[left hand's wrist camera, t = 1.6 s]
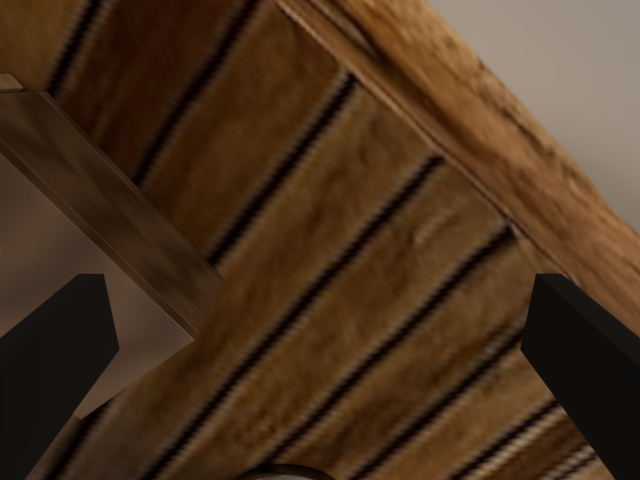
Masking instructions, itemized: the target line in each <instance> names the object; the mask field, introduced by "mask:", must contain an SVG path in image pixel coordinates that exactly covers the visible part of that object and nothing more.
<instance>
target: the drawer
mask: <svg viewBox="0 0 640 480" xmlns="http://www.w3.org/2000/svg"><path fill="white" fill-rule="evenodd" d="M22 89H23V87H22V85H21V84H20V83H19V82H18V81H17V80H16V79H15V78H14V77H13V76H12V75H11V74H0V93H16V92H20V91H21V90H22Z"/></svg>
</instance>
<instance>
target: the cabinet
mask: <svg viewBox="0 0 640 480" xmlns="http://www.w3.org/2000/svg"><path fill="white" fill-rule="evenodd" d="M78 274H104V277H105V282H106V286H107V291H108V296H109V301H110V305H111V310H112V315H113V320H114V324H115V329H116V334H117V339H118V343H119V348H120V350H119V351H118V353H117V354H116V355H115V357H114V358H113V359H112V361H111V362H110V364H109V365H108V366H107V368H106V369H105V370H104V372H103V373H102V375H101V376H100V377H99V379H98V380H97V381H96V383H95V384H94V385H93V387H92V388H91V390H90V391H89V392H88V394H87V395H86V396H85V398H84V399H83V400H82V402H81V403H80V405H79V406H78V407H77V409H76V410H75V411H74V413H73V414H74V415H75V416H77V417H78V418H79V419H82V418H83V417H85V416H86V415H88V414H89V413H91V412H92V411H93V410H95V409H96V408H98V407H99V406H101V405H102V404H103V403H105V402H106V401H108V400H109V399H111V398H112V397H114V396H115V395H116V394H118V393H119V392H121V391H122V390H124V389H125V388H126V387H128V386H129V385H131V384H132V383H134V382H135V381H137V380H138V379H139V378H141V377H142V376H144V375H145V374H147V373H148V372H149V371H151V370H152V369H154V368H155V367H157V366H158V365H160V364H161V363H162V362H164V361H165V360H167V359H168V358H170V357H171V356H172V355H174V354H175V353H177V352H178V351H180V350H181V349H183V348H184V347H185V346H187V345H188V344H190V343H191V342H193V341H194V340H195V338H196V336H197V334H198V331H199V329H200V327H201V325H202V323H203V321H204V319H205V317H206V315H207V312H208V310H209V308H210V306H211V304H212V302H213V300H214V298H215V296H216V294H217V292H218V289H219V287H220V285H221V283H222V281H223V278H222V277H221V275H220V274H219V273H218V272H217V271H216V270H215V269H214V268H213V267H212V266H211V265H210V264H209V263H208V262H207V261H206V260H205V259H204V257H203V256H202V255H201V254H200V253H199V252H198V251H197V250H196V249H195V248H194V247H193V246H192V245H191V244H190V243H189V242H188V241H187V239H186V238H185V237H184V236H183V235H182V234H181V233H180V232H179V231H178V230H177V229H176V228H175V227H174V226H173V225H172V224H171V223H170V221H169V220H168V219H167V218H166V217H165V216H164V215H163V214H162V213H161V212H160V211H159V210H158V209H157V208H156V207H155V206H154V205H153V203H152V202H151V201H150V200H149V199H148V198H147V197H146V196H145V195H144V194H143V193H142V192H141V191H140V190H139V189H138V188H137V187H136V185H135V184H134V183H133V182H132V181H131V180H130V179H129V178H128V177H127V176H126V175H125V174H124V173H123V172H122V171H121V170H120V169H119V167H118V166H117V165H116V164H115V163H114V162H113V161H112V160H111V159H110V158H109V157H108V156H107V155H106V154H105V153H104V152H103V151H102V149H101V148H100V147H99V146H98V145H97V144H96V143H95V142H94V141H93V140H92V139H91V138H90V137H89V136H88V135H87V134H86V133H85V131H84V130H83V129H82V128H81V127H80V126H79V125H78V124H77V123H76V122H75V121H74V120H73V119H72V118H71V117H70V116H69V115H68V113H67V112H66V111H65V110H64V109H63V108H62V107H61V106H60V105H59V104H58V103H57V102H56V101H55V100H54V99H53V98H52V97H51V95H50V94H49V93H48V92H47V91H32V92H16V93H0V338H1V337H2V336H3V335H4V334H6V333H7V332H8V331H9V330H11V329H12V328H13V327H14V326H15V325H17V324H18V323H19V322H20V321H22V320H23V319H24V318H25V317H26V316H28V315H29V314H30V313H31V312H33V311H34V310H35V309H36V308H37V307H39V306H40V305H41V304H42V303H43V302H45V301H46V300H47V299H48V298H50V297H51V296H52V295H53V294H54V293H56V292H57V291H58V290H59V289H61V288H62V287H63V286H64V285H65V284H67V283H68V282H69V281H70V280H72V279H73V278H74V277H75V276H76V275H78Z"/></svg>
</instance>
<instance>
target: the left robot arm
mask: <svg viewBox="0 0 640 480" xmlns="http://www.w3.org/2000/svg"><path fill="white" fill-rule="evenodd" d="M119 350H120V348H119V343H118V339H117V334H116V329H115V324H114V320H113V315H112V310H111V305H110V301H109V296H108V291H107V286H106V282H105V277H104V274H78V275H76V276H75V277H74V278H73V279H72V280H70V281H69V282H68V283H67V284H65V285H64V286H63V287H62V288H61V289H59V290H58V291H57V292H56V293H54V294H53V295H52V296H51V297H50V298H48V299H47V300H46V301H45V302H43V303H42V304H41V305H40V306H39V307H37V308H36V309H35V310H34V311H33V312H31V313H30V314H29V315H28V316H26V317H25V318H24V319H23V320H22V321H20V322H19V323H18V324H17V325H15V326H14V327H13V328H12V329H11V330H9V331H8V332H7V333H6V334H4V335H3V336H2V337H1V338H0V480H25V478H26V477H27V476H28V474H29V473H30V472H31V470H32V469H33V467H34V466H35V465H36V463H37V462H38V461H39V459H40V458H41V456H42V455H43V454H44V452H45V451H46V450H47V448H48V447H49V446H50V444H51V443H52V441H53V440H54V439H55V437H56V436H57V435H58V433H59V432H60V431H61V429H62V428H63V426H64V425H65V424H66V422H67V421H68V420H69V418H70V417H71V415H72V414H73V413H74V411H75V410H76V409H77V407H78V406H79V405H80V403H81V402H82V400H83V399H84V398H85V396H86V395H87V394H88V392H89V391H90V390H91V388H92V387H93V385H94V384H95V383H96V381H97V380H98V379H99V377H100V376H101V375H102V373H103V372H104V370H105V369H106V368H107V366H108V365H109V364H110V362H111V361H112V359H113V358H114V357H115V355H116V354H117V353H118V351H119ZM520 350H521V351H522V353H523V354H524V355H525V357H526V358H527V359H528V361H529V362H530V364H531V365H532V366H533V368H534V369H535V370H536V372H537V373H538V375H539V376H540V377H541V379H542V380H543V381H544V383H545V384H546V385H547V387H548V388H549V390H550V391H551V392H552V394H553V395H554V396H555V398H556V399H557V400H558V402H559V403H560V405H561V406H562V407H563V409H564V410H565V411H566V413H567V414H568V416H569V417H570V418H571V420H572V421H573V422H574V424H575V425H576V426H577V428H578V429H579V431H580V432H581V433H582V435H583V436H584V437H585V439H586V440H587V441H588V443H589V444H590V446H591V447H592V448H593V450H594V451H595V452H596V454H597V455H598V456H599V458H600V459H601V461H602V462H603V463H604V465H605V466H606V467H607V469H608V470H609V472H610V473H611V474H612V476H613V477H614V478H615V480H640V338H639V337H638V336H637V335H636V334H634V333H633V332H632V331H631V330H629V329H628V328H627V327H626V326H625V325H623V324H622V323H621V322H620V321H618V320H617V319H616V318H615V317H614V316H612V315H611V314H610V313H609V312H607V311H606V310H605V309H604V308H603V307H601V306H600V305H599V304H598V303H597V302H595V301H594V300H593V299H592V298H590V297H589V296H588V295H587V294H586V293H584V292H583V291H582V290H581V289H579V288H578V287H577V286H576V285H575V284H573V283H572V282H571V281H570V280H568V279H567V278H566V277H565V276H564V275H562V274H536V277H535V282H534V286H533V291H532V296H531V301H530V305H529V310H528V315H527V320H526V324H525V329H524V334H523V339H522V343H521V348H520ZM237 480H333V479H332V478H330V477H328V476H326V475H324V474H322V473H320V472H317V471H314V470H311V469H307V468H302V467H295V466H273V467H267V468H262V469H258V470H255V471H252V472H250V473H247V474H245V475H244V476H242V477H240V478H239V479H237Z"/></svg>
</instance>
